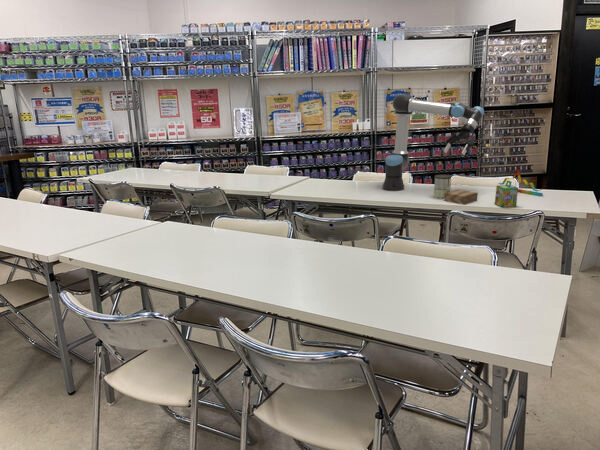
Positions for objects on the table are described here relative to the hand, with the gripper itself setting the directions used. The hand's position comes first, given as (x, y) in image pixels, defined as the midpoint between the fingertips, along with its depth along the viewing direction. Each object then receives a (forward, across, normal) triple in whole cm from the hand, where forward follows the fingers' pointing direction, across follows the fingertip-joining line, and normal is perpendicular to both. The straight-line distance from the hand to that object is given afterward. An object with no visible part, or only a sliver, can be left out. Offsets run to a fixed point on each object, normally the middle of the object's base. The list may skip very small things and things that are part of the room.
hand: (453, 152), depth 302 cm
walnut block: (+27, -14, -13) cm, 33 cm away
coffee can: (+27, 0, -12) cm, 30 cm away
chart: (-6, -26, -46) cm, 54 cm away
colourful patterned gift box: (+21, -39, -19) cm, 48 cm away
